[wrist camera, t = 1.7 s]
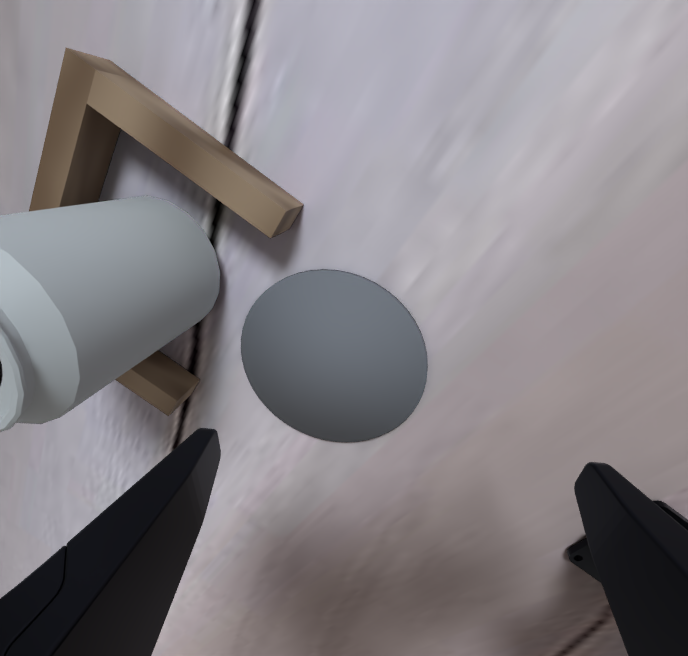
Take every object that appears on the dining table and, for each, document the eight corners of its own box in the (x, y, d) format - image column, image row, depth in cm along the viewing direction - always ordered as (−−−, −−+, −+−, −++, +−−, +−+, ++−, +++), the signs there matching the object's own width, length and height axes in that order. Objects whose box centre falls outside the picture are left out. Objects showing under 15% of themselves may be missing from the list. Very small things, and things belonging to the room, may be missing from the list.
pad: (470, 352, 21) (471, 355, 20) (354, 466, 26) (353, 470, 25) (301, 227, 20) (299, 228, 20) (215, 368, 25) (212, 372, 25)
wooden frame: (303, 204, 20) (286, 211, 17) (191, 394, 26) (168, 416, 24) (110, 60, 19) (65, 47, 17) (45, 292, 26) (7, 305, 23)
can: (192, 344, 25) (2, 489, 14) (94, 267, 24) (-185, 357, 13) (251, 256, 21) (62, 357, 11) (140, 163, 21) (-183, 172, 10)
